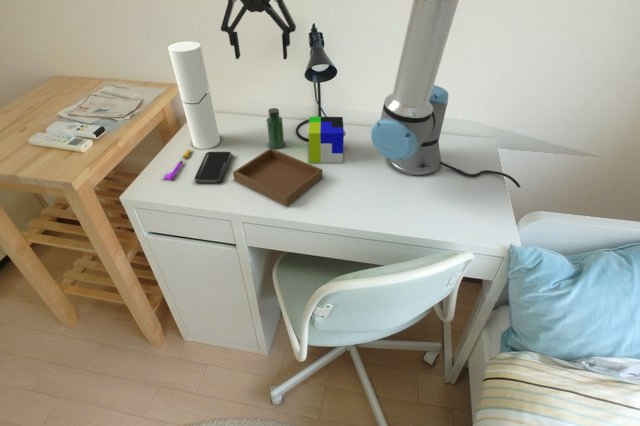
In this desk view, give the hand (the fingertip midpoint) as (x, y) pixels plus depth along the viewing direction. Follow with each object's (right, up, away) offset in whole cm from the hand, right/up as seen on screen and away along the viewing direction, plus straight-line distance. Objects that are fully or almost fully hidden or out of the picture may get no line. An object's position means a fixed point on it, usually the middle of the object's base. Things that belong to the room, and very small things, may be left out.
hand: (261, 57), depth 108 cm
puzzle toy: (+19, -26, +10) cm, 34 cm away
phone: (-15, -31, +4) cm, 35 cm away
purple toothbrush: (-26, -30, +6) cm, 40 cm away
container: (-21, -21, +16) cm, 34 cm away
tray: (+5, -35, 0) cm, 35 cm away
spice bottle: (+3, -22, +14) cm, 27 cm away
